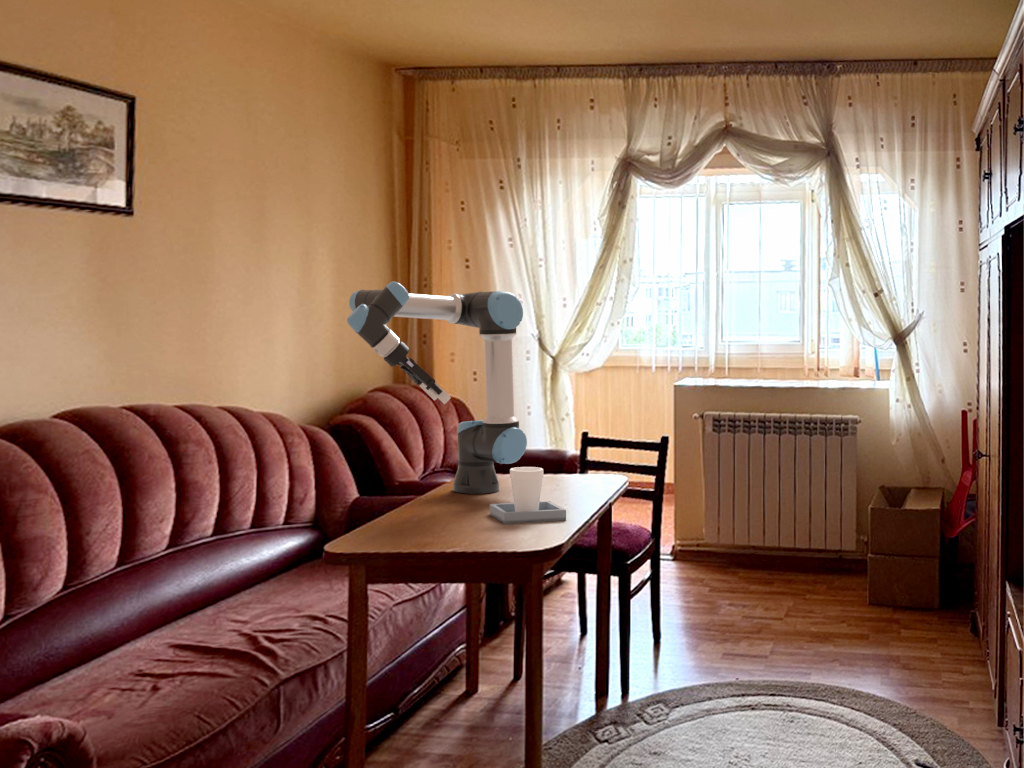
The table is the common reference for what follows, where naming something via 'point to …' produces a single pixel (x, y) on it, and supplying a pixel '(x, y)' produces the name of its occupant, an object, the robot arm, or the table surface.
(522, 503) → the foam cup
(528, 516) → the tray
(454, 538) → the table surface
